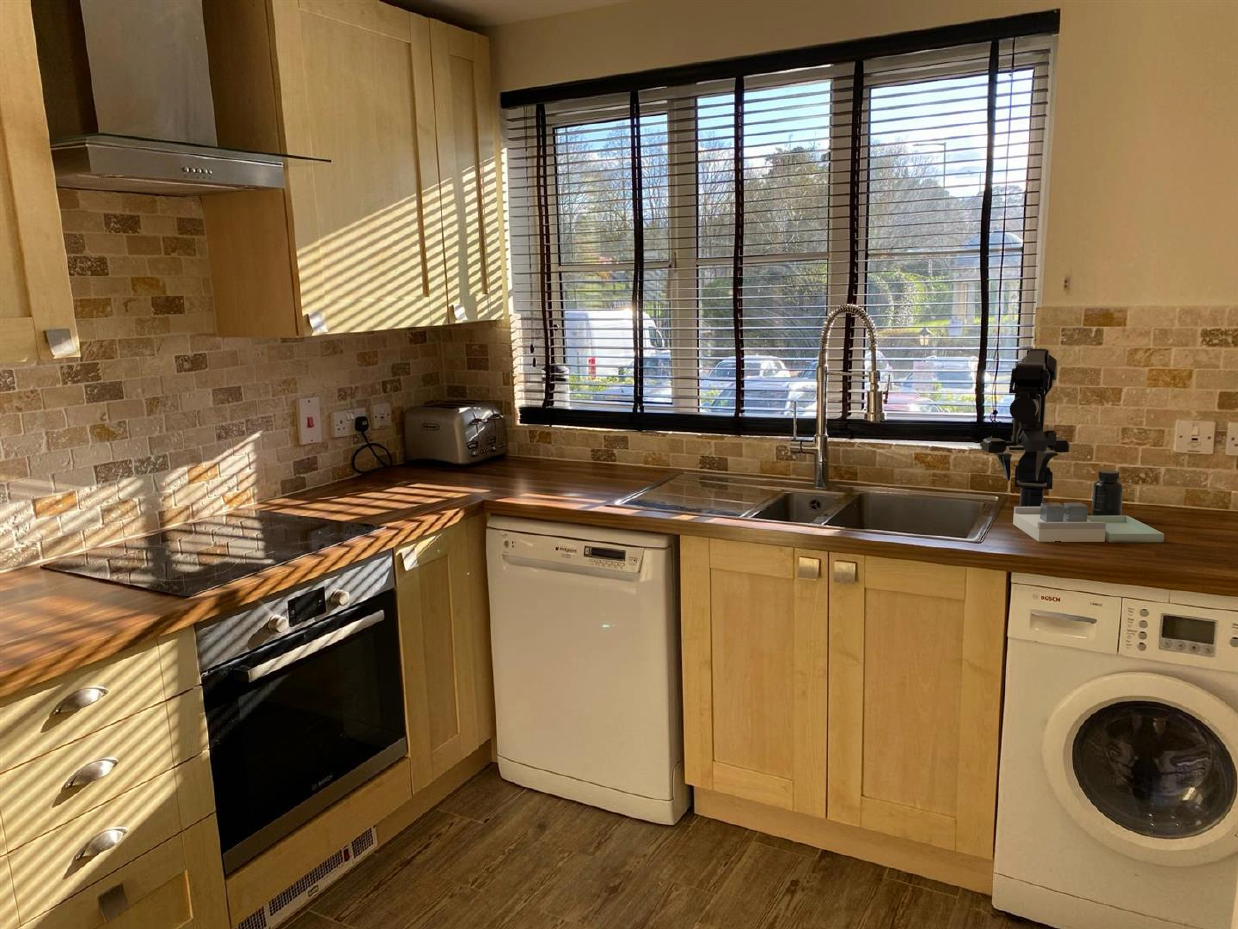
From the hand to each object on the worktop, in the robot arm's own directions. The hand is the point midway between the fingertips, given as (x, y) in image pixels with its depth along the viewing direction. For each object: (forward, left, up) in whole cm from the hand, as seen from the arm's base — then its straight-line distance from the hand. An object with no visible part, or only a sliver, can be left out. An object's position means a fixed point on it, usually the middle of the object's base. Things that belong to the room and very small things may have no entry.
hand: (1023, 480), depth 221 cm
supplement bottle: (-16, +27, -13) cm, 34 cm away
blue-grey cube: (0, +7, -10) cm, 12 cm away
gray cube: (0, +13, -10) cm, 16 cm away
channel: (0, +9, -13) cm, 16 cm away
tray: (0, +23, -13) cm, 27 cm away
